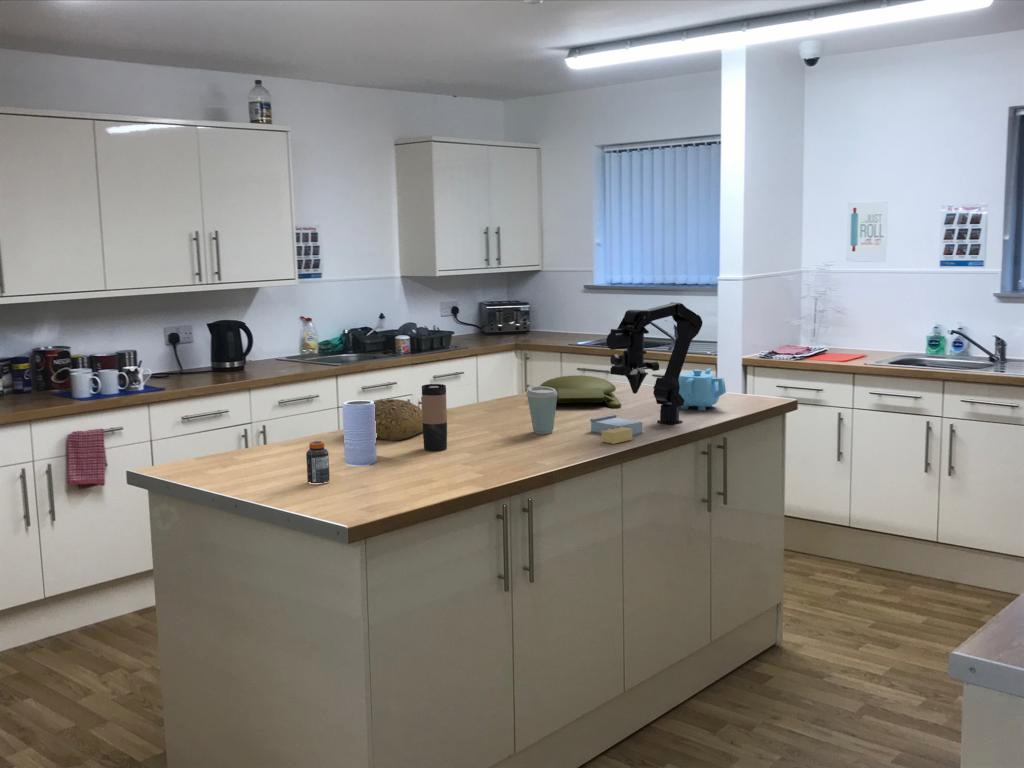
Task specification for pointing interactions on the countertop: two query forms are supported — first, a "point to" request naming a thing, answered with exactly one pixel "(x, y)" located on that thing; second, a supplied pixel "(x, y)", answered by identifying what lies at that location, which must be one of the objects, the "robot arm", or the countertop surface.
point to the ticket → (614, 424)
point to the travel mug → (434, 417)
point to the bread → (397, 419)
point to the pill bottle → (317, 463)
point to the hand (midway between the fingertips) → (634, 393)
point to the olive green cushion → (583, 390)
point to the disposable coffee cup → (542, 408)
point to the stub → (616, 435)
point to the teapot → (700, 389)
